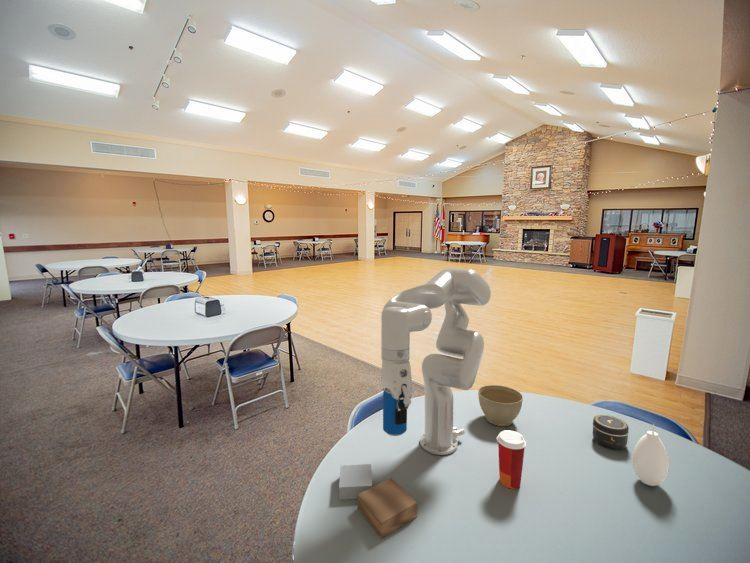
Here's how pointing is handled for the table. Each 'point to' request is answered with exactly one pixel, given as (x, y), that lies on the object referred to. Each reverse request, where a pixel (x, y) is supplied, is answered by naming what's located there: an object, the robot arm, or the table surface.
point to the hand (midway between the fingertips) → (394, 416)
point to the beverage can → (391, 416)
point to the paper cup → (510, 458)
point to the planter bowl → (500, 404)
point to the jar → (610, 432)
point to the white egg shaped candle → (650, 459)
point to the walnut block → (387, 506)
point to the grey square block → (354, 480)
